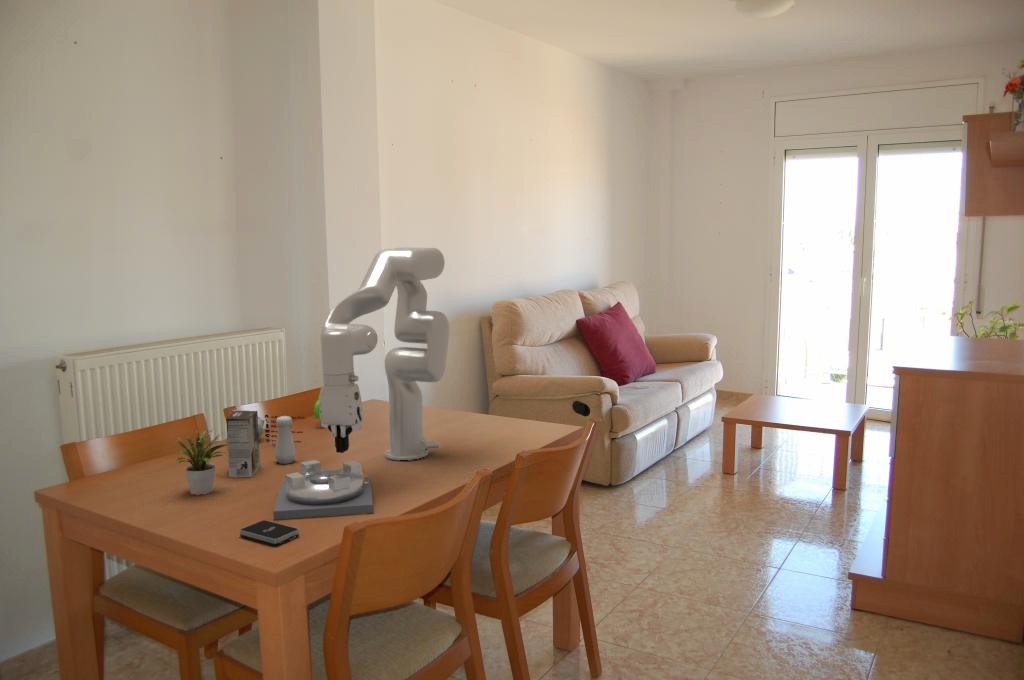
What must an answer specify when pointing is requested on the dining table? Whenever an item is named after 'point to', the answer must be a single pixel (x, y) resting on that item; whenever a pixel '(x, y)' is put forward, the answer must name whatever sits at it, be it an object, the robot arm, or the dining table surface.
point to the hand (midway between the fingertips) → (342, 451)
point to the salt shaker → (284, 441)
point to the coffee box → (243, 443)
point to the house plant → (200, 463)
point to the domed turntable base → (324, 483)
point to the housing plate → (323, 505)
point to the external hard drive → (269, 533)
